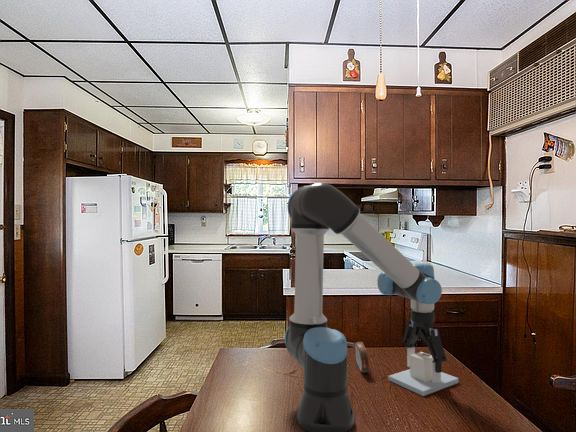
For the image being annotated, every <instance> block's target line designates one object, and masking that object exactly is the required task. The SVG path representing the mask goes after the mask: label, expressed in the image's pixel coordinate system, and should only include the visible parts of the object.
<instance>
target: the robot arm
mask: <svg viewBox="0 0 576 432" xmlns="http://www.w3.org/2000/svg"><path fill="white" fill-rule="evenodd" d="M287 212H288V214H289V216H290V219H291V220H290V222H291V224H290V229H291V231H292V232H293V233H294V234H295V262H294V264H295V266H294V267H295V269H294V270H295V273H294V310H293V313H292V314H291V315H290V316H289V320H288V323H289V324H288V327H287V328H286V329H285V334H284V344H285V346H286V350H287V351H288V354H290V356H291V357H293V359H294V360H295V361H296V362H298V364H299V365H300V366H301V367H302V368H303V392H302V396H301V398H300V403H299V406H298V408H297V423H298V426H300V427H301V428H302V429H303V430H305V431H306V432H348V431H350V430H351V429H352V428H353V426H354V425H355V414H354V410H353V406H352V403H351V400H350V397H349V394H348V352H349V351H348V345H347V344H348V343H347V339H346V336H345V335H344V333H342V332H341V331H339V330H337V329H334V328H333V329H332V328H330V327H328V318H327V317H326V315H324V313H323V300H324V299H323V297H324V296H323V294H324V292H323V291H324V290H323V289H324V286H323V285H324V252H325V251H324V247H325V246H324V242H325V241H324V240H325V234H326V233H328V232H329V230H331V231H332V232H333V233H334V234H336V235H342V236H343V237H344V238H345V239H347V241H349V243H351V244H352V245H353V246H354V247H355V248H356V249H357V250H359V251H360V252H361V253H362V254H363V255H364V256H365V257H366V258H367V259H369V261H371V262H372V264H374V265H375V266H376V267H377V268H379V269H380V271H381V272H380V273H379V274H378V277H377V280H376V281H377V284H376V285H377V287H378V290H379V292H380V293H381V295H384V296H393V295H395V296H399V297H403V298H405V299H409V300H410V309H411V310H410V319H408V320H407V325H406V329H405V332H404V334H403V338H402V344H404V345H405V348H406V367H408V368H410V355H412V354H415V353H416V348H415V343H416V342H417V341H418V339H419V338H420V339H422V341H423V342H424V343H426V346H427V348H428V351H429V352H430V353H429V354H430V355H432V357H433V361H432V382H433V383H435V382H441V372H442V363H445V362H447V361H448V360H447V357H446V353H445V350H444V346H443V343H442V339H441V335H440V329H439V328H435V329H434V328H433V324H434V323H435V320H436V318H435V314H436V313H435V311H434V310H435V304H436V303H437V302H439V300H440V298H441V297H442V294H443V293H442V292H443V291H442V290H443V288H442V286H441V283H440V282H439V281H438V280H437V279H435V270H434V266H433V265H432V264H430V263H412V262H411V261H410V260H409V259H408V258H407V257H406V255H404V254H403V253H401V252H400V251H399V250H398V249H397V247H395V246H394V245H393V244H392V243H391V242H390V241H389V240H388V239H387V238H386V237H385V236H384V235H383V234H382V233H381V232H380V231H378V229H377V228H375V227H374V225H372V224H371V223H370V222H369V221H368V220H366V218H365V217H364V216H363V215H361V209H360V208H359V207H358V206H357V204H355V203H354V202H353V201H352V200H351V199H350V198H349V197H348V196H346V194H344V192H342V191H341V190H339V189H338V188H336V187H335V186H334V185H332V184H329V183H327V182H316V183H313V184H309V185H303V186H301V187H298V188H297V189H296V190H294V192H292V194H291V195H290V196H289V199H288V201H287ZM436 357H437V358H436Z"/></svg>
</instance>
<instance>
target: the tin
mask: <svg viewBox="0 0 576 432" xmlns="http://www.w3.org/2000/svg"><path fill="white" fill-rule="evenodd" d="M354 346H355V347H354V348H355V360H356V363H357V366H358V369H359V371H360V372H361V373H369V371H370V365H369V364H370V363H369V356H368V351H367V349H366V347H365V345H364V343H363V341H357V342H356V341H355V343H354Z"/></svg>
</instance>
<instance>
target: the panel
mask: <svg viewBox="0 0 576 432" xmlns="http://www.w3.org/2000/svg"><path fill="white" fill-rule="evenodd" d="M387 376H388V381H390V382H392V383H394V384H396V385H398V386H400V387H402V388H405V389H406V390H408V391H411V392H414V393H415V394H416V395H417V394H418V395H420V396H422V397H425V396H428V395H430V394H432V393H435V392H438V391H441V390H443V389H445V388H448V387H451V386H453V385H457V384H458V383H459V377H456V376H453V375H451V374H448V373H445V372H442V371H441V382H435V383H433V382H432V380H430V381H427V382H424V381H421V380H419V379H416V378H414V377H412V376H410V368H409V369H406V370H402V371H399V372H396V373H394V374H390V375H387Z"/></svg>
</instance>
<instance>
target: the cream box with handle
mask: <svg viewBox="0 0 576 432" xmlns="http://www.w3.org/2000/svg"><path fill="white" fill-rule="evenodd" d="M436 358H437V357H436ZM432 361H433V357H432V355H431V353H426V352H423V351H419V352H415V354H412V355H410V367H409V369H410V376H412V377H414V378H416V379H419V380H421V381H424V382H427V381H430V380H432Z"/></svg>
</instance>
